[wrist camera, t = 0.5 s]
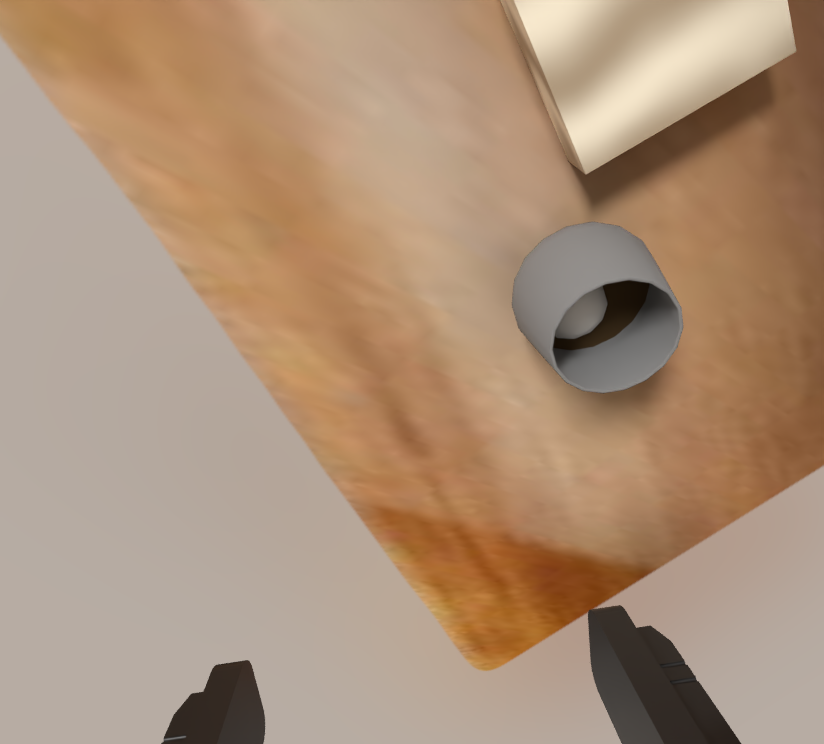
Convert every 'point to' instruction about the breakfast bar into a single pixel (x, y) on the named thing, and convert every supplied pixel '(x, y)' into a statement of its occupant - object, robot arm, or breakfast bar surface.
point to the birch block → (640, 62)
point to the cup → (597, 307)
